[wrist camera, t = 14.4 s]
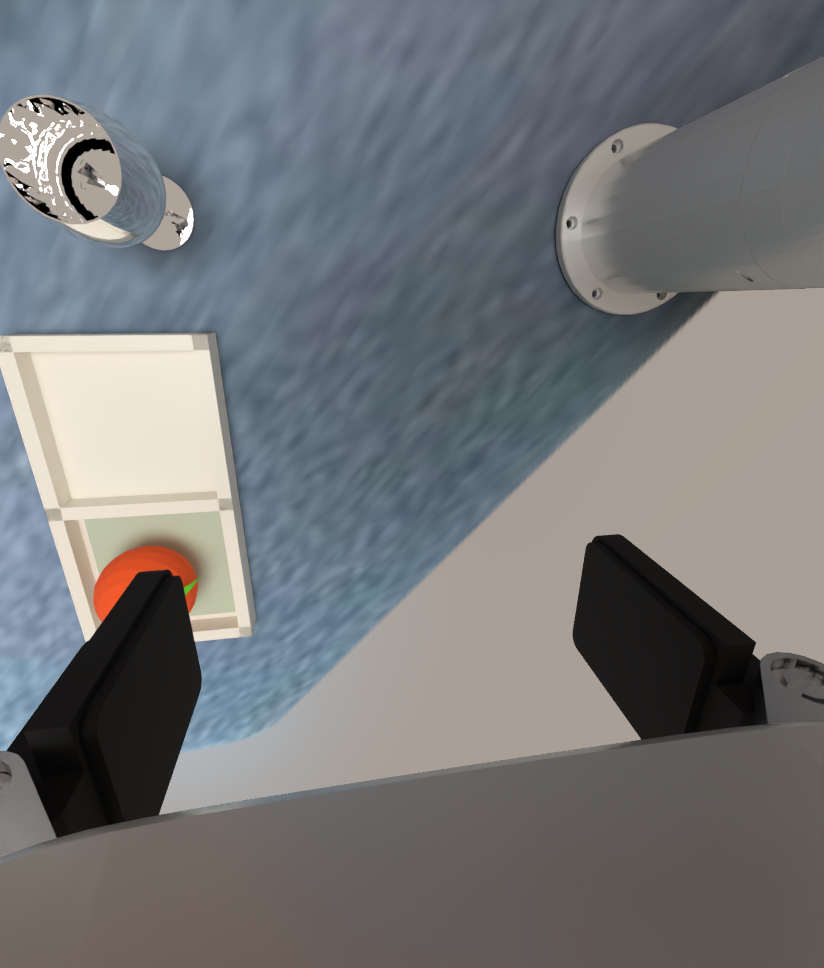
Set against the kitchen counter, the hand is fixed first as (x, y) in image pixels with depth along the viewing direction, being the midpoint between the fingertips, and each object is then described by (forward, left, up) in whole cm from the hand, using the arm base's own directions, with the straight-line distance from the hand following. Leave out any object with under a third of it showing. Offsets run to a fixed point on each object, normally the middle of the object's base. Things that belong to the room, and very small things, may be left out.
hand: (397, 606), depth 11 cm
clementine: (+16, +14, -28) cm, 35 cm away
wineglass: (+12, -12, -28) cm, 33 cm away
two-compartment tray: (+16, +8, -28) cm, 33 cm away
